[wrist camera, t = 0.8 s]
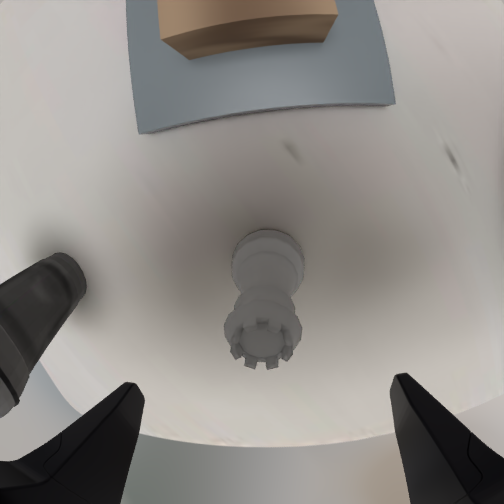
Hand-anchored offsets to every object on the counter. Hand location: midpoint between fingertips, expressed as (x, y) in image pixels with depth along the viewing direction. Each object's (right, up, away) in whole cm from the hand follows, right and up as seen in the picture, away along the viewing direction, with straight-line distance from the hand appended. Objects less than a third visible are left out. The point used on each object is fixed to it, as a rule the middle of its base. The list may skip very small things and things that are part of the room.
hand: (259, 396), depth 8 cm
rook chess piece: (+1, +4, +10) cm, 11 cm away
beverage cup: (-16, +3, +12) cm, 20 cm away
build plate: (0, +19, +3) cm, 19 cm away
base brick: (-1, +18, +2) cm, 18 cm away
